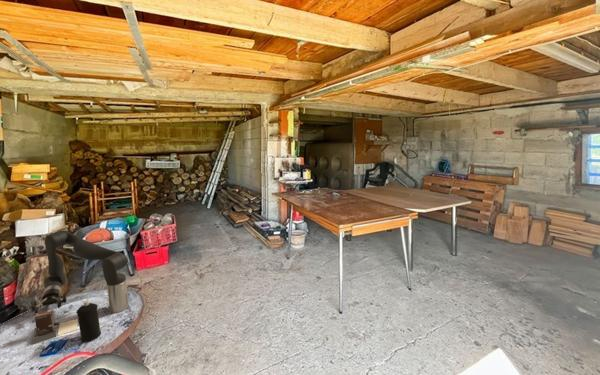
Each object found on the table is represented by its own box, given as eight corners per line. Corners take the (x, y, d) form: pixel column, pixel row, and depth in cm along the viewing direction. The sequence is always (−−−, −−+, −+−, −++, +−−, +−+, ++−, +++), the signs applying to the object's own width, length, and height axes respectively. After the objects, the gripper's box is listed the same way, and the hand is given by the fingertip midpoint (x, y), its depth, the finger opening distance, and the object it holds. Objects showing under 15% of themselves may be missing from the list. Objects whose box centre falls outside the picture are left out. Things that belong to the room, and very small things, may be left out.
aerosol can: (105, 332, 138) (100, 298, 134) (88, 344, 131) (82, 308, 127) (93, 328, 141) (89, 294, 137) (76, 339, 133) (70, 304, 129)
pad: (78, 318, 148) (78, 318, 148) (76, 329, 140) (76, 329, 140) (59, 324, 143) (59, 324, 143) (57, 335, 135) (57, 335, 135)
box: (38, 338, 133) (33, 317, 131) (40, 332, 137) (36, 312, 134) (54, 334, 136) (50, 313, 134) (56, 328, 140) (52, 308, 138)
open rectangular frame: (58, 324, 143) (57, 319, 143) (56, 336, 135) (55, 331, 134) (35, 331, 138) (34, 325, 137) (31, 344, 129) (30, 339, 129)
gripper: (33, 292, 152) (28, 308, 139) (66, 284, 160) (64, 298, 147) (36, 304, 153) (30, 320, 140) (68, 295, 161) (66, 310, 149)
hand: (47, 309), depth 144 cm, fingers open, 8 cm apart
